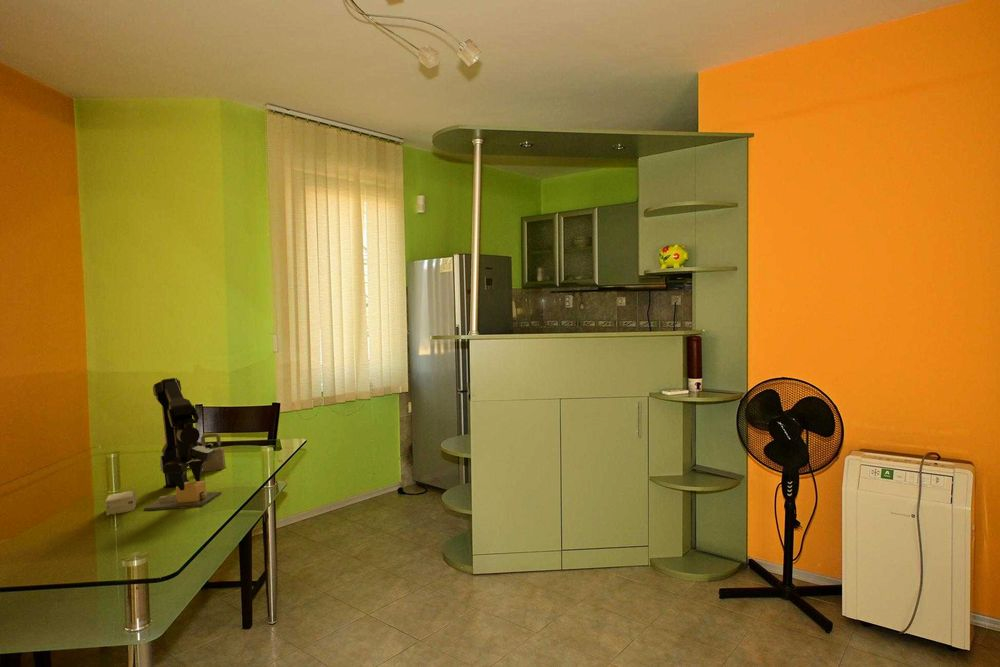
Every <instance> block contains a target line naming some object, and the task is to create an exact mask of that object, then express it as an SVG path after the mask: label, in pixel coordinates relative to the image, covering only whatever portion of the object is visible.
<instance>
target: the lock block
mask: <svg viewBox="0 0 1000 667" xmlns="http://www.w3.org/2000/svg"><path fill="white" fill-rule="evenodd" d="M206 490H207V489H206V482H205V480H200V481H196V480H195V481H188V482H185V487H184V490H180V489H179V488H178V486H176V487H175V492H176V493H175V495H177V502H191V501H199V500H200V496H199V493H207V491H206Z"/></svg>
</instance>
